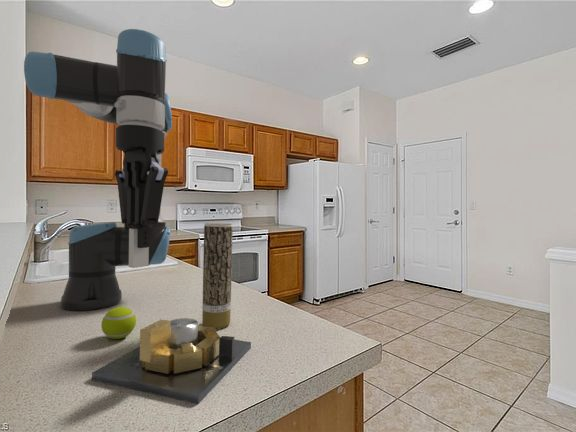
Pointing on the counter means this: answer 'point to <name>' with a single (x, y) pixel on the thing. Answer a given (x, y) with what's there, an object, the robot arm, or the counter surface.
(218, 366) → the housing
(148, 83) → the robot arm
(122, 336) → the tennis ball
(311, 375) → the counter surface
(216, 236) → the bark textured cylinder
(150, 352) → the ring nut
